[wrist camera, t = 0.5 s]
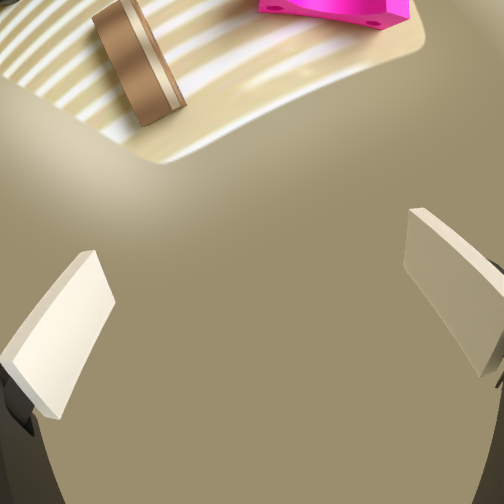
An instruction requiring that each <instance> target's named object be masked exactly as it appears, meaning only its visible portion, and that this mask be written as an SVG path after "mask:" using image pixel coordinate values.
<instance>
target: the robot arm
mask: <svg viewBox="0 0 504 504" xmlns="http://www.w3.org/2000/svg"><path fill="white" fill-rule="evenodd" d="M17 1H19V0H0V6H7V5H11V4H13V3H15V2H17ZM403 268H404V269H405V271H406V272H407V273H408V274H409V276H410V277H411V278H412V279H413V281H414V282H415V283H416V285H417V286H418V287H419V289H420V290H421V292H422V293H423V294H424V296H425V297H426V298H427V299H428V301H429V302H430V304H431V305H432V307H433V308H434V309H435V310H436V312H437V314H438V315H439V316H440V318H441V319H442V321H443V322H444V324H445V325H446V327H447V328H448V329H449V331H450V332H451V334H452V335H453V337H454V338H455V340H456V341H457V343H458V344H459V346H460V348H461V349H462V351H463V352H464V354H465V355H466V357H467V359H468V360H469V362H470V363H471V365H472V367H473V368H474V370H475V372H476V373H477V375H478V377H479V378H480V377H483V376H485V375H487V374H490V373H492V372H494V371H496V370H497V368H498V366H499V364H500V363H501V361H502V359H503V357H504V270H503V269H502V268H501V267H500V266H499V265H497V264H496V263H494V262H492V261H490V260H488V259H487V258H485V257H483V256H482V255H481V254H480V253H479V252H478V251H477V250H476V249H474V248H473V247H472V246H471V245H470V244H469V243H467V242H466V241H465V240H464V239H463V238H461V237H460V236H459V235H458V234H457V233H455V232H454V231H453V230H452V229H451V228H449V227H448V226H447V225H446V224H444V223H443V222H442V221H440V220H439V219H438V218H436V217H435V216H434V215H433V214H431V213H430V212H429V211H427V210H426V209H425V208H416V209H409V212H408V225H407V236H406V247H405V255H404V264H403ZM115 303H116V302H115V300H114V297H113V295H112V293H111V290H110V288H109V285H108V283H107V280H106V278H105V276H104V273H103V270H102V268H101V265H100V262H99V260H98V257H97V254H96V252H95V250H91V251H85V252H81V253H80V254H79V255H78V256H77V257H76V258H75V259H74V261H73V262H72V263H71V264H70V265H69V266H68V267H67V269H66V270H65V271H64V272H63V273H62V275H61V276H60V277H59V278H58V279H57V280H56V282H55V283H54V284H53V285H52V287H51V288H50V289H49V290H48V291H47V293H46V294H45V295H44V296H43V298H42V299H41V300H40V301H39V303H38V304H37V305H36V307H35V308H34V309H33V311H32V312H31V313H30V315H29V316H28V317H27V319H26V320H25V321H24V323H23V324H22V325H21V327H20V328H19V329H18V331H17V332H16V334H15V335H14V336H13V338H12V339H11V341H10V342H9V344H8V345H7V347H6V348H5V349H4V351H3V353H2V354H1V355H0V504H65V501H64V499H63V497H62V494H61V492H60V489H59V487H58V484H57V482H56V479H55V477H54V474H53V471H52V468H51V465H50V462H49V459H48V456H47V453H46V450H45V446H44V443H43V440H42V436H41V432H40V429H39V425H38V421H37V418H36V416H35V415H34V414H33V413H32V410H33V408H34V406H35V407H36V408H37V409H38V410H39V411H40V412H41V413H42V414H43V416H45V417H49V418H54V419H58V420H60V418H61V416H62V413H63V411H64V409H65V406H66V404H67V401H68V399H69V397H70V395H71V392H72V390H73V388H74V386H75V383H76V381H77V379H78V377H79V375H80V372H81V370H82V368H83V366H84V364H85V362H86V360H87V357H88V355H89V353H90V351H91V349H92V347H93V345H94V343H95V341H96V339H97V337H98V335H99V333H100V331H101V329H102V327H103V325H104V323H105V322H106V320H107V318H108V316H109V314H110V312H111V310H112V308H113V306H114V304H115ZM501 382H503V386H502V394H501V399H500V405H499V411H498V416H497V422H496V426H495V430H494V435H493V439H492V443H491V447H490V451H489V454H488V458H487V461H486V465H485V468H484V471H483V474H482V477H481V480H480V483H479V486H478V489H477V492H476V494H475V497H474V500H473V502H472V504H504V372H503V373H502V375H501V377H500V379H499V380H498V382H497V384H496V387H495V388H498V387H499V385H500V384H501Z"/></svg>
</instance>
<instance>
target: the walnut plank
mask: <svg viewBox="0 0 504 504" xmlns="http://www.w3.org/2000/svg"><path fill="white" fill-rule="evenodd" d="M92 20H93V23H94V25H95V27H96V29H97V32H98V34H99V36H100V39H101V41H102V43H103V45H104V47H105V50H106V52H107V54H108V56H109V59H110V61H111V63H112V65H113V67H114V69H115V72H116V74H117V76H118V78H119V80H120V82H121V84H122V87H123V89H124V91H125V93H126V95H127V97H128V99H129V101H130V103H131V106H132V108H133V110H134V112H135V114H136V116H137V118H138V120H139V122H140V124H141V126H142V127H143V126H147V125H150V124H152V123H154V122H156V121H157V120H159V119H161V118H163V117H165V116H167V115H169V114H171V113H173V112H175V111H176V110H178V109H180V108H182V107H184V106H186V105H187V104H186V102H185V100H184V98H183V96H182V94H181V92H180V90H179V87H178V85H177V83H176V81H175V79H174V77H173V75H172V73H171V71H170V69H169V67H168V65H167V63H166V61H165V58H164V56H163V54H162V52H161V50H160V48H159V46H158V44H157V42H156V40H155V38H154V36H153V34H152V32H151V30H150V27H149V25H148V23H147V21H146V19H145V17H144V15H143V13H142V11H141V9H140V7H139V5H138V3H137V1H136V0H118V1H116V2H115V3H113V4H111V5H110V6H108V7H107V8H105V9H104V10H102V11H101V12H99V13H98V14H96V15H95V16H93V17H92Z"/></svg>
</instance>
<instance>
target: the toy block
mask: <svg viewBox="0 0 504 504" xmlns="http://www.w3.org/2000/svg"><path fill="white" fill-rule="evenodd" d="M258 12H263V13H280V14H292V15H301V16H310V17H318V18H324V19H331V20H337V21H343V22H348V23H353V24H358V25H363V26H367V27H371V28H376V29H380V30H384V29H386V28H389V27H391V26H393V25H396V24H398V23H401V22H403V21H406V20H408V19H410V12H409V0H259V8H258Z"/></svg>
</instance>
